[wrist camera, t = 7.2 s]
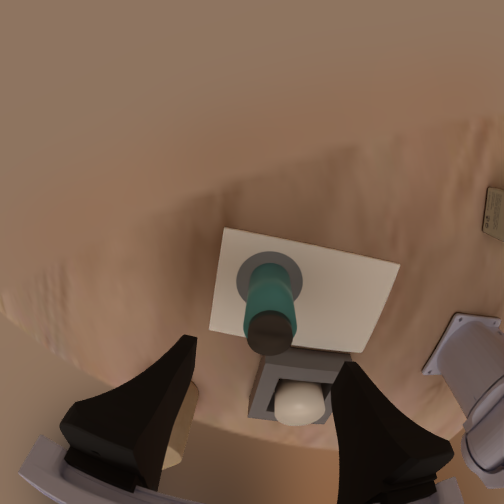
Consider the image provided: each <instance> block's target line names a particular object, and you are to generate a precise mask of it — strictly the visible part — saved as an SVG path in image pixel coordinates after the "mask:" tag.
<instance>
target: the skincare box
mask: <svg viewBox="0 0 504 504" xmlns="http://www.w3.org/2000/svg"><path fill="white" fill-rule="evenodd" d="M483 232H485V233H487V234H489V235H491V236H493V237H495V238H497V239H499V240H501V241H502V242H504V190H503V189H498V188H491V187H489V188H488V194H487V202H486V211H485V218H484V226H483Z"/></svg>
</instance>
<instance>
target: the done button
mask: <svg viewBox="0 0 504 504" xmlns="http://www.w3.org/2000/svg"><path fill="white" fill-rule="evenodd" d="M324 413H325V404H324V398H323V393H322V387H321V383H320V382H309V381H299V380H291V379H283V378H282V379H281V380H279V381H278V382H277V384H276V387H275V418H276V419H277V420H278V421H279V422H281V423H283V424H285V425H290V426H303V425H307V424H311V423H313V422H315V421H317V420H319V419H320V418H321V417H322V416H323V415H324Z"/></svg>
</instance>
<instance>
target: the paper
mask: <svg viewBox="0 0 504 504" xmlns="http://www.w3.org/2000/svg"><path fill="white" fill-rule="evenodd" d="M265 263H275V264H278V265H281V266H282V267H283V268H285V269H286V271H287V272H288V274H289V277H290V282H291V289H292V295H293V301H294V308H295V315H296V321H297V331H296V334H295V336H294V338H293V341H292V344H291V345H296V346H303V347H311V348H319V349H327V350H336V351H345V352H356V353H362V352H363V350H364V348H365V346H366V344H367V342H368V340H369V338H370V336H371V334H372V332H373V330H374V327H375V325H376V323H377V321H378V319H379V317H380V314H381V312H382V310H383V308H384V305H385V303H386V301H387V298H388V296H389V293H390V291H391V288H392V286H393V283H394V281H395V278H396V276H397V273H398V270H399V268H400V264H399V263H395V262H391V261H386V260H382V259H378V258H373V257H369V256H364V255H360V254H355V253H351V252H346V251H341V250H337V249H332V248H327V247H323V246H318V245H313V244H308V243H304V242H299V241H294V240H289V239H284V238H279V237H275V236H270V235H265V234H260V233H255V232H250V231H244V230H239V229H234V228H229V227H224V232H223V238H222V244H221V250H220V257H219V263H218V270H217V276H216V283H215V290H214V297H213V304H212V311H211V318H210V326H209V330H212V331H217V332H222V333H227V334H232V335H237V336H242V337H246V336H245V334H244V331H243V323H244V316H245V309H246V303H247V296H248V289H249V282H250V276H251V274H252V272H253V271H254V269H255V268H257V267H258V266H259V265H262V264H265Z"/></svg>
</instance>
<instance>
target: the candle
mask: <svg viewBox="0 0 504 504" xmlns="http://www.w3.org/2000/svg"><path fill="white" fill-rule="evenodd" d="M197 401H198V389H197V387H196V386H195V385H194V384H193V382H190V386H189V388H188V391H187V393H186V395H185V398H184V400H183V403H182V405H181V408H180V410H179V413H178V415H177V417H176V420H175V423H174V426H173V429H172V432H171V436H170V440H169V443H168V447H167V451H166V455H165V459H164V463H163V468H162V470H163V469H165V468H168V467H171V466H173V465H176V464H178V463H180V462H181V461H182V457H183V453H184V449H185V446H186V442H187V438H188V434H189V431H190V427H191V423H192V419H193V416H194V412H195V408H196V405H197Z"/></svg>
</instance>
